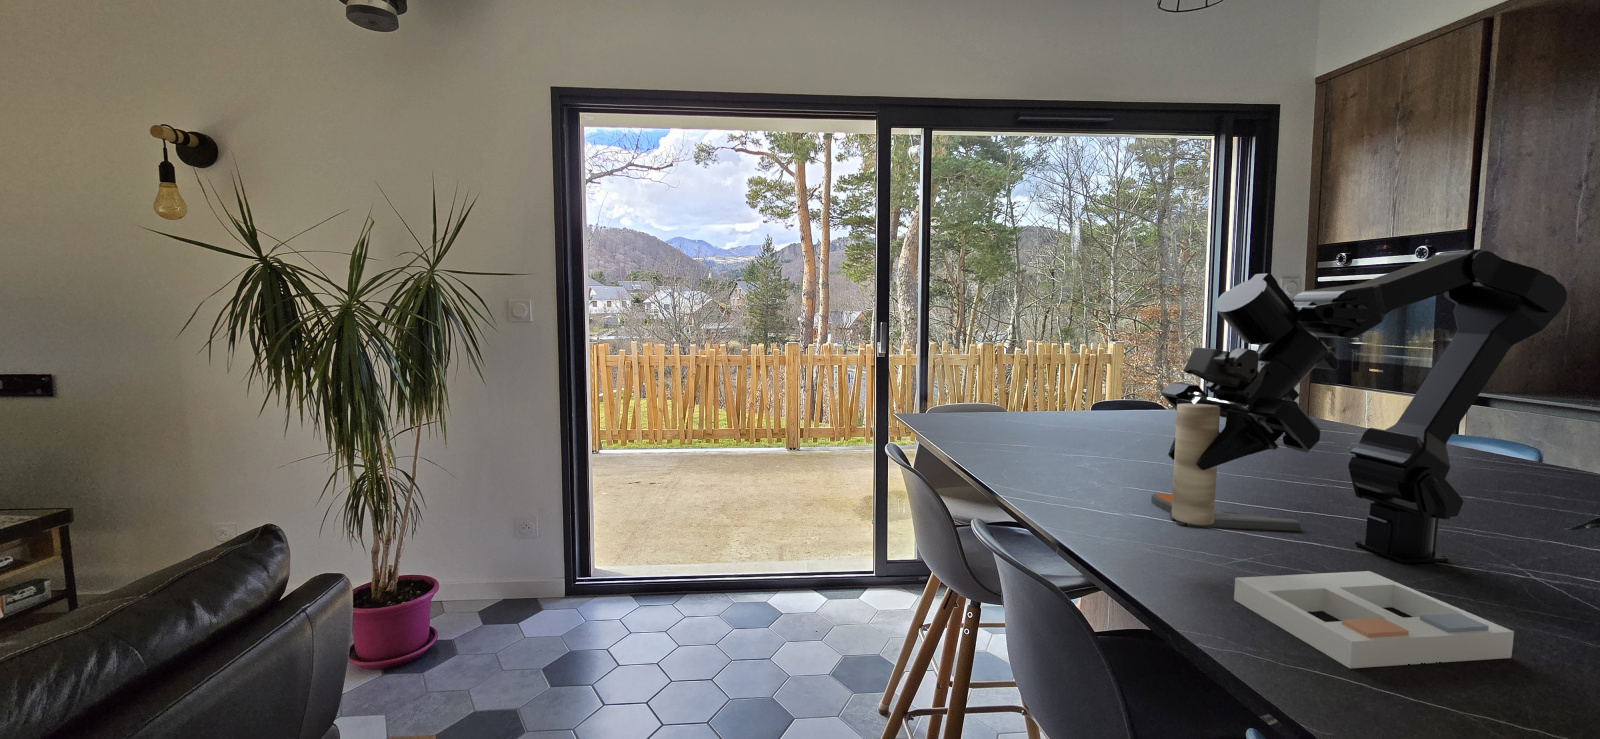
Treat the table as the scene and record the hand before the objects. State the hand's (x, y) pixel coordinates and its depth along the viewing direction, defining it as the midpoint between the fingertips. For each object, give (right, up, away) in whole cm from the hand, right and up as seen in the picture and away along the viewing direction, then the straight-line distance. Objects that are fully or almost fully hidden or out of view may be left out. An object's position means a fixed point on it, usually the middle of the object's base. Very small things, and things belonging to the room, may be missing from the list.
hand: (1184, 462), depth 75 cm
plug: (+1, -7, +1) cm, 7 cm away
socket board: (+9, -14, -13) cm, 22 cm away
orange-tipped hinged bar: (+17, -12, +20) cm, 29 cm away
